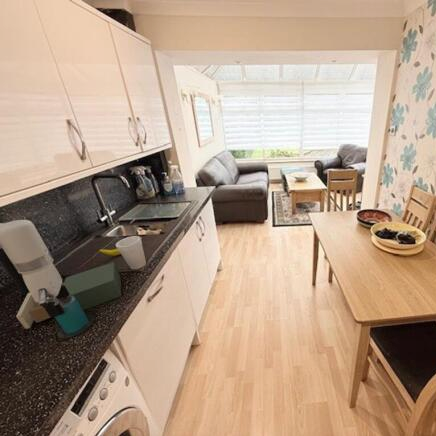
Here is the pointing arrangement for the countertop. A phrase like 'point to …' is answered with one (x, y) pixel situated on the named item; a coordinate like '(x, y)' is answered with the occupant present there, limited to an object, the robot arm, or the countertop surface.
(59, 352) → the countertop surface
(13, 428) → the countertop surface
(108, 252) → the banana
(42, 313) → the drawer
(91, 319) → the coaster
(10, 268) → the wine bottle
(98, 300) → the cabinet
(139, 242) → the foam cup
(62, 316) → the can
